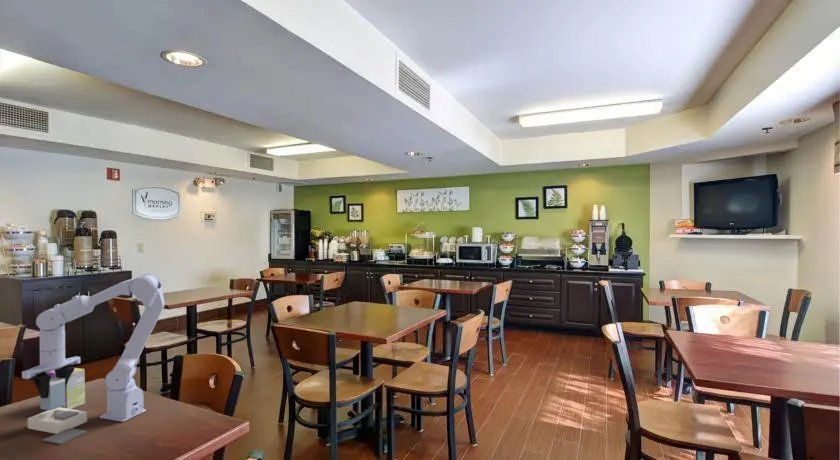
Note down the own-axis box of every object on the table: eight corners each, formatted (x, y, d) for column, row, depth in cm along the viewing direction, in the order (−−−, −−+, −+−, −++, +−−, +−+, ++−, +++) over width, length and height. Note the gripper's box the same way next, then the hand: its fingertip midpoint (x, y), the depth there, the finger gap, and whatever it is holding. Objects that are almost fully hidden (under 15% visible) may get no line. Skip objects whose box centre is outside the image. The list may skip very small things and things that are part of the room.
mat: (86, 432, 121) (86, 430, 121) (60, 444, 114) (60, 443, 114) (70, 429, 123) (70, 427, 123) (43, 441, 116) (43, 439, 116)
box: (43, 407, 138) (43, 371, 138) (63, 400, 143) (62, 365, 143) (66, 411, 135) (66, 374, 135) (85, 404, 140) (85, 368, 140)
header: (87, 421, 128) (86, 409, 128) (58, 434, 120) (58, 421, 120) (57, 416, 131) (57, 404, 131) (27, 428, 123) (27, 416, 123)
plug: (65, 404, 127) (64, 378, 127) (50, 410, 124) (50, 383, 123) (55, 403, 128) (55, 377, 128) (40, 408, 125) (40, 381, 124)
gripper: (68, 341, 134) (68, 384, 134) (14, 355, 120) (14, 402, 120) (85, 343, 132) (85, 386, 132) (32, 357, 118) (32, 405, 118)
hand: (52, 394), depth 126 cm, fingers closed on plug, 4 cm apart
